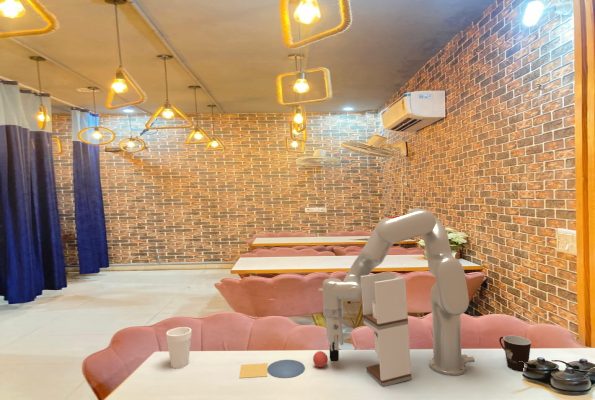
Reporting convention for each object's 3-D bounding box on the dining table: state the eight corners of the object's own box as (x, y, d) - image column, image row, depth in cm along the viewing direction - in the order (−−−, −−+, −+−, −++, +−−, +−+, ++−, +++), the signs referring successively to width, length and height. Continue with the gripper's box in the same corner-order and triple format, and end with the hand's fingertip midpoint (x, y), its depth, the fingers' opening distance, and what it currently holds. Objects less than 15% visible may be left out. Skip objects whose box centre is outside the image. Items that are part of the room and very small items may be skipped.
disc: (303, 359, 143) (302, 358, 143) (306, 376, 129) (306, 376, 129) (267, 361, 142) (267, 360, 142) (267, 379, 128) (267, 378, 128)
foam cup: (197, 361, 143) (196, 328, 143) (180, 372, 135) (179, 337, 135) (179, 357, 147) (178, 325, 147) (161, 367, 139) (160, 333, 139)
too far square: (267, 363, 140) (267, 363, 140) (267, 376, 130) (267, 375, 130) (241, 365, 139) (241, 364, 139) (239, 378, 129) (239, 377, 129)
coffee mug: (535, 374, 126) (535, 345, 126) (508, 372, 128) (508, 344, 128) (522, 359, 138) (521, 333, 138) (497, 357, 139) (497, 331, 139)
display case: (394, 365, 134) (388, 272, 134) (411, 379, 124) (405, 278, 123) (366, 372, 131) (360, 276, 130) (382, 386, 121) (375, 282, 120)
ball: (326, 362, 139) (326, 348, 139) (329, 369, 134) (328, 354, 134) (312, 363, 139) (312, 349, 139) (314, 370, 133) (313, 355, 133)
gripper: (347, 318, 129) (348, 369, 130) (339, 305, 144) (340, 351, 145) (326, 319, 129) (327, 370, 129) (320, 306, 144) (321, 352, 144)
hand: (334, 360), depth 137 cm, fingers closed
